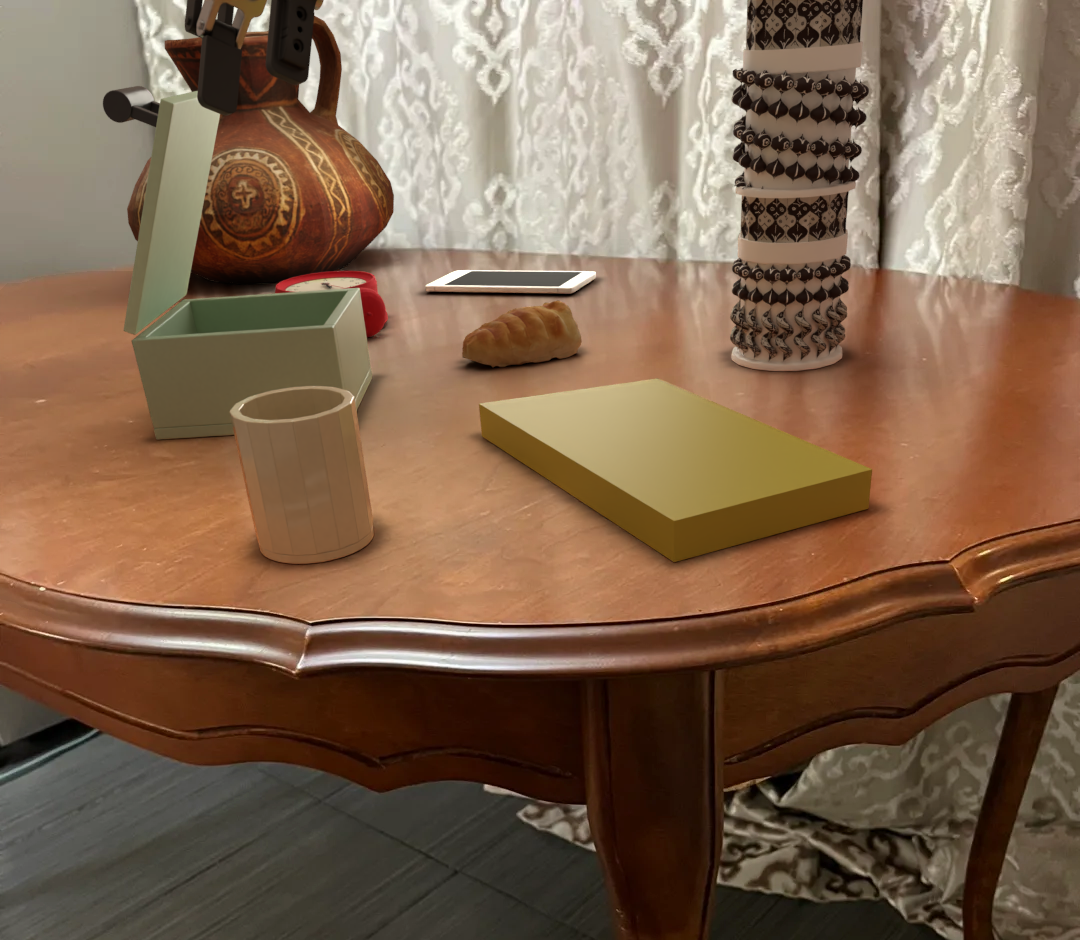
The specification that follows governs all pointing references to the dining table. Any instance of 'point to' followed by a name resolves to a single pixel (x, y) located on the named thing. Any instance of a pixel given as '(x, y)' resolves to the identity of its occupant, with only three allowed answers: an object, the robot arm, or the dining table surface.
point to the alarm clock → (344, 280)
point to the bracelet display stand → (795, 180)
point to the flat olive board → (676, 464)
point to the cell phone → (512, 281)
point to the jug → (280, 175)
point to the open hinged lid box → (248, 355)
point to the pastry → (525, 336)
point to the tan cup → (304, 473)
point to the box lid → (166, 196)
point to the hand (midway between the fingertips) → (249, 95)
